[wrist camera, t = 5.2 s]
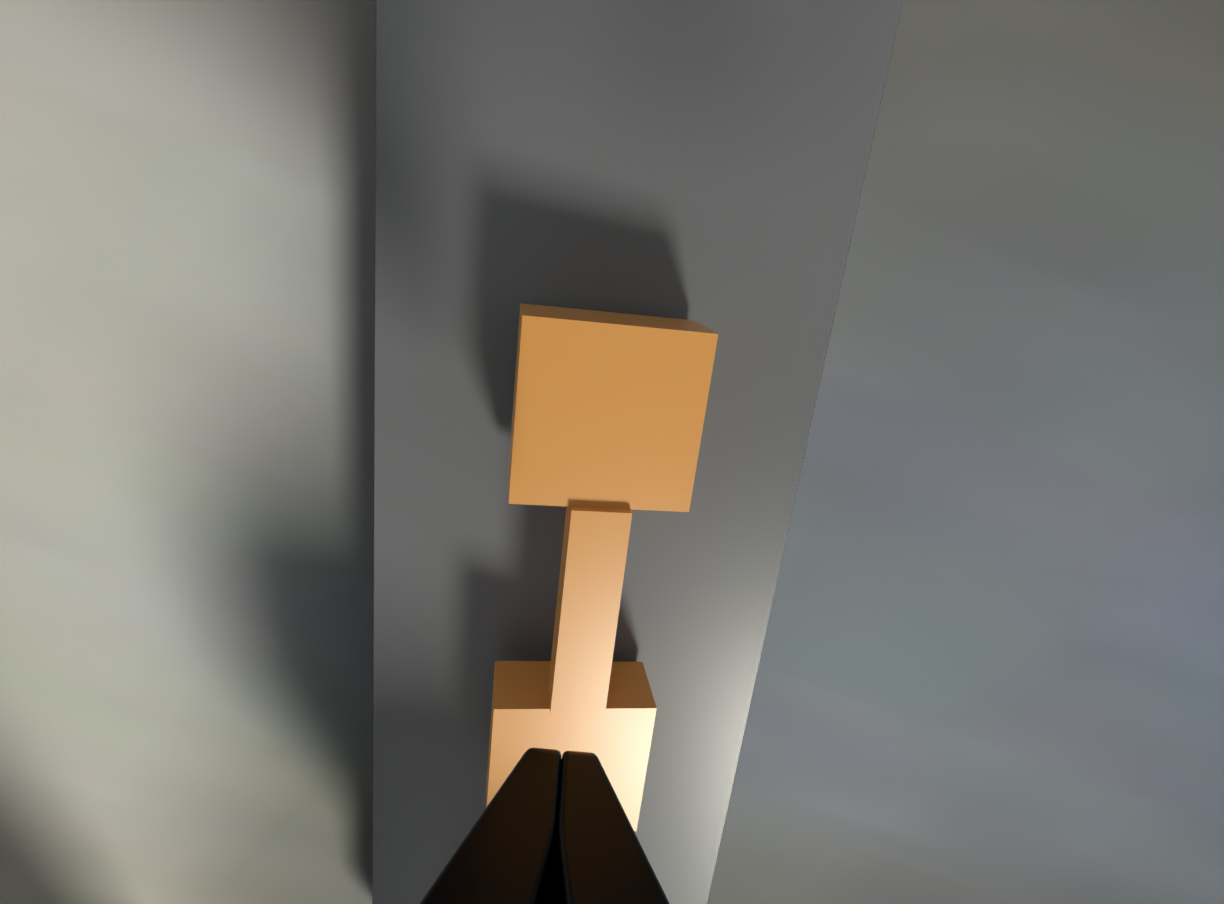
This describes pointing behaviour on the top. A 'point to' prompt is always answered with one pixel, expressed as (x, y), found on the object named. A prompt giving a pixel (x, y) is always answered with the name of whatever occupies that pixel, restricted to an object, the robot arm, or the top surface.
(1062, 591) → the top surface
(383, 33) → the grey board
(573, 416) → the orange dumbbell
